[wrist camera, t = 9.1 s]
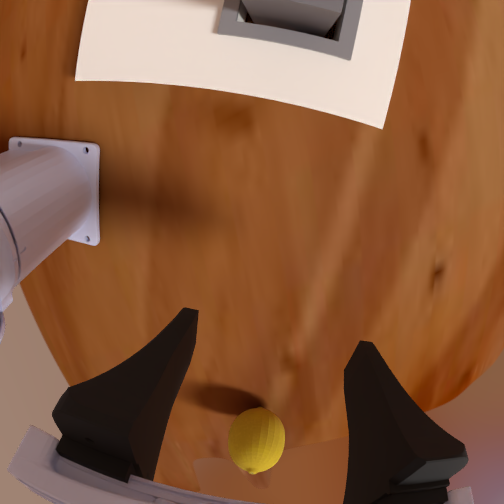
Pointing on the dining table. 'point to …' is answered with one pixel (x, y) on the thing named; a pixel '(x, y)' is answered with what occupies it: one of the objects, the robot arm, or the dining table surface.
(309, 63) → the socket board
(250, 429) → the lemon
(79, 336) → the dining table surface
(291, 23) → the plug
